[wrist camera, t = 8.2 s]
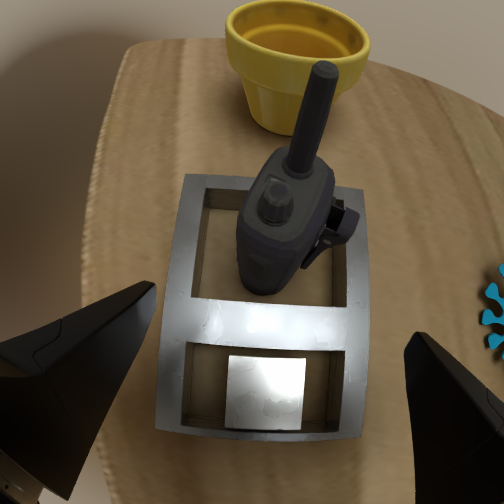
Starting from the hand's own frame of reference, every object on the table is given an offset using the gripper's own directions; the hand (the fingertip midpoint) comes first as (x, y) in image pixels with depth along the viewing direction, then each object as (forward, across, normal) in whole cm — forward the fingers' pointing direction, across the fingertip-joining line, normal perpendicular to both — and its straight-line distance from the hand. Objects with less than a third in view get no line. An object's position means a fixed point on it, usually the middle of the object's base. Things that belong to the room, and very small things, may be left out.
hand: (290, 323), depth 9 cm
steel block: (+5, 0, +10) cm, 11 cm away
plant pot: (+21, +2, -6) cm, 22 cm away
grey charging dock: (+8, 0, +6) cm, 10 cm away
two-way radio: (+11, 0, +4) cm, 11 cm away
